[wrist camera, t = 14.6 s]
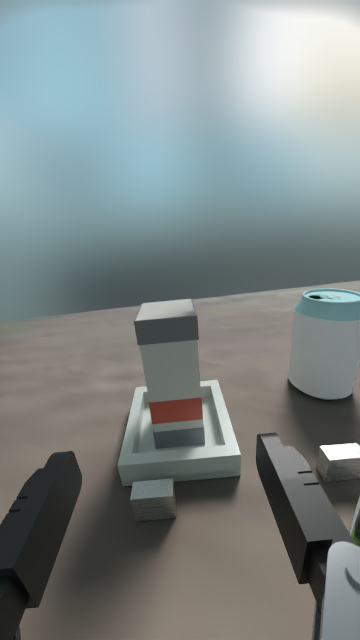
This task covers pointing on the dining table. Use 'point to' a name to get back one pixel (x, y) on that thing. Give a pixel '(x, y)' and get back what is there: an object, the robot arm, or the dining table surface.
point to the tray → (179, 462)
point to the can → (325, 343)
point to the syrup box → (356, 524)
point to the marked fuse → (171, 371)
